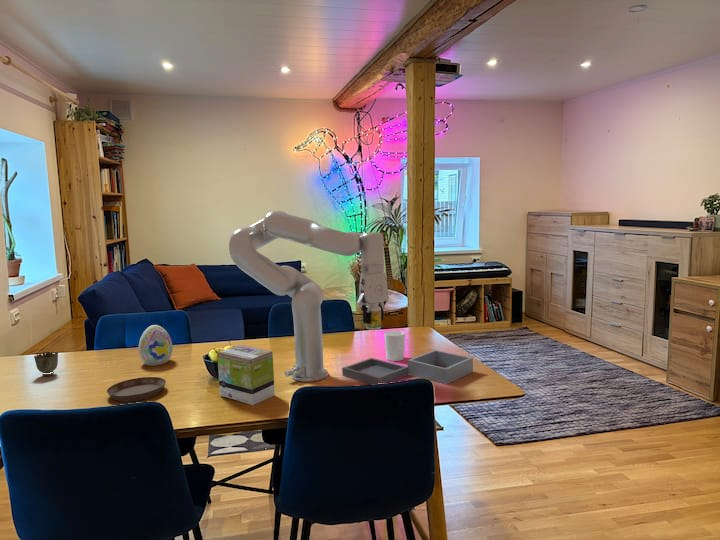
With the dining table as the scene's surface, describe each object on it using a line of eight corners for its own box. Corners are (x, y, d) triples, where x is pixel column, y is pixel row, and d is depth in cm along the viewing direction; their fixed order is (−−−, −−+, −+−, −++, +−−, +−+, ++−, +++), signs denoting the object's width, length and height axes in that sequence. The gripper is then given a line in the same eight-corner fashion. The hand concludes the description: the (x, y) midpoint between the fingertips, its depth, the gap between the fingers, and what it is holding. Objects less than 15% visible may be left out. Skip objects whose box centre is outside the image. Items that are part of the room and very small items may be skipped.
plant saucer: (99, 395, 165) (98, 386, 165) (153, 381, 177) (152, 372, 177) (119, 409, 153) (118, 399, 152) (175, 393, 165) (175, 384, 164)
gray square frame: (446, 384, 165) (446, 369, 164) (407, 374, 176) (407, 360, 175) (472, 371, 176) (472, 357, 175) (435, 362, 187) (434, 349, 187)
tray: (378, 386, 164) (378, 378, 164) (342, 375, 176) (342, 367, 176) (408, 374, 175) (407, 366, 175) (371, 365, 187) (371, 357, 187)
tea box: (218, 397, 160) (215, 351, 158) (242, 387, 168) (239, 343, 166) (252, 406, 151) (250, 358, 150) (276, 395, 160) (273, 349, 158)
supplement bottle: (382, 326, 176) (382, 299, 174) (379, 330, 170) (379, 302, 169) (367, 326, 177) (366, 298, 175) (364, 329, 171) (363, 301, 170)
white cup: (404, 362, 189) (403, 336, 188) (383, 361, 191) (382, 335, 190) (406, 355, 197) (406, 330, 196) (386, 355, 199) (385, 330, 197)
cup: (64, 372, 189) (62, 351, 188) (47, 379, 182) (45, 357, 181) (48, 371, 191) (46, 350, 190) (31, 378, 184) (29, 356, 183)
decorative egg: (144, 369, 189) (140, 330, 187) (136, 362, 199) (133, 325, 197) (177, 363, 196) (174, 325, 195) (168, 356, 206) (165, 320, 204)
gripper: (363, 272, 162) (364, 328, 165) (397, 267, 174) (397, 319, 177) (346, 270, 167) (347, 324, 170) (381, 265, 180) (381, 316, 182)
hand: (373, 321), depth 173 cm, fingers closed on supplement bottle, 5 cm apart
